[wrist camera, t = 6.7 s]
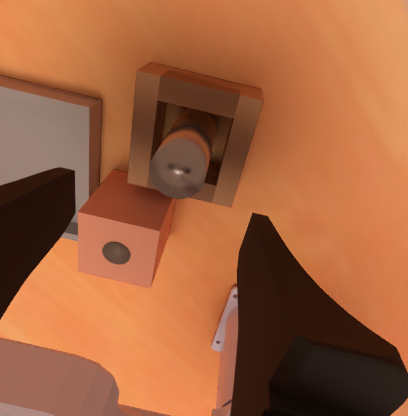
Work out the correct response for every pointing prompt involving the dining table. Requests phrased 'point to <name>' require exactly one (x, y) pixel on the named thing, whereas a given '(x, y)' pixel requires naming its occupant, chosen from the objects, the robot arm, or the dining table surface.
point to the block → (123, 231)
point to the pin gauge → (184, 155)
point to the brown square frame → (199, 100)
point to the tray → (50, 137)
